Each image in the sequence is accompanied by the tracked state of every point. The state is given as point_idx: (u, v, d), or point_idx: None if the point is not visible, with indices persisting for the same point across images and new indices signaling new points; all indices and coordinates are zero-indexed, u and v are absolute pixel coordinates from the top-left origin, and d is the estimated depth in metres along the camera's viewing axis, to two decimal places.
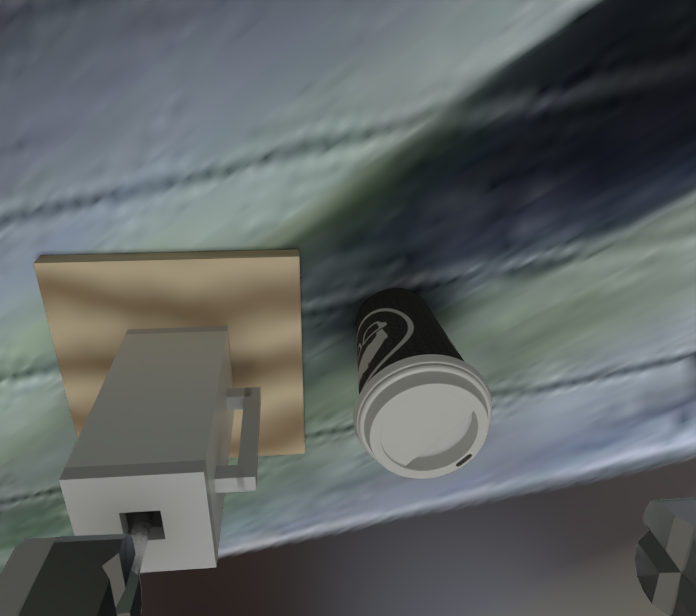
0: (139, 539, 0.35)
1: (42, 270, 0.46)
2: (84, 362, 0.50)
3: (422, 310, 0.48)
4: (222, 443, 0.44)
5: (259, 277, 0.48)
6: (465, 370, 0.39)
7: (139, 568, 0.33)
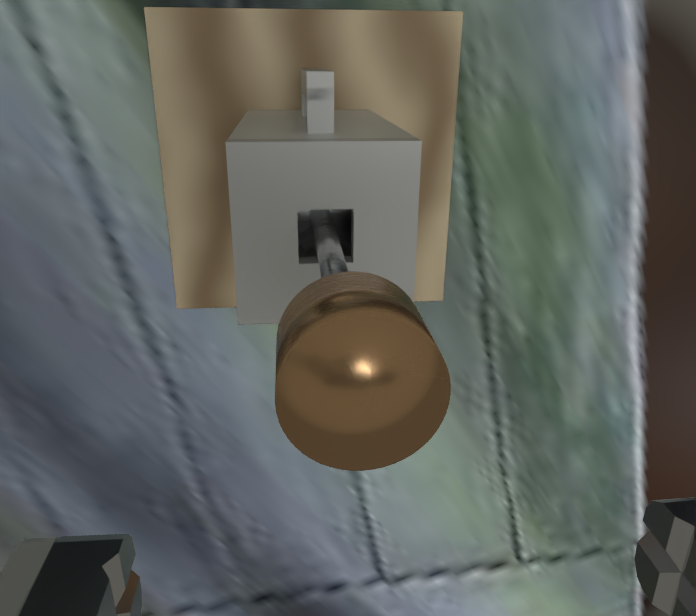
0: (316, 242, 0.25)
1: (184, 301, 0.45)
2: None
3: None
4: None
5: (177, 63, 0.38)
6: None
7: (328, 246, 0.23)
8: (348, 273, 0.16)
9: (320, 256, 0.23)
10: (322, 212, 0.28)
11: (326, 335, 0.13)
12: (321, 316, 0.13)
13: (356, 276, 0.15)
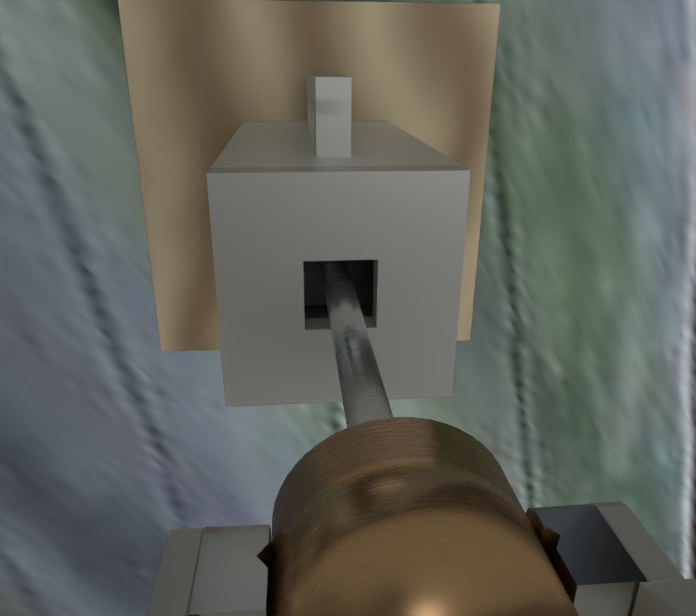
0: (328, 307, 0.18)
1: (170, 343, 0.38)
2: None
3: None
4: None
5: (158, 65, 0.32)
6: None
7: (346, 319, 0.17)
8: (393, 423, 0.09)
9: (335, 334, 0.16)
10: None
11: (366, 600, 0.07)
12: (354, 548, 0.07)
13: (407, 432, 0.09)
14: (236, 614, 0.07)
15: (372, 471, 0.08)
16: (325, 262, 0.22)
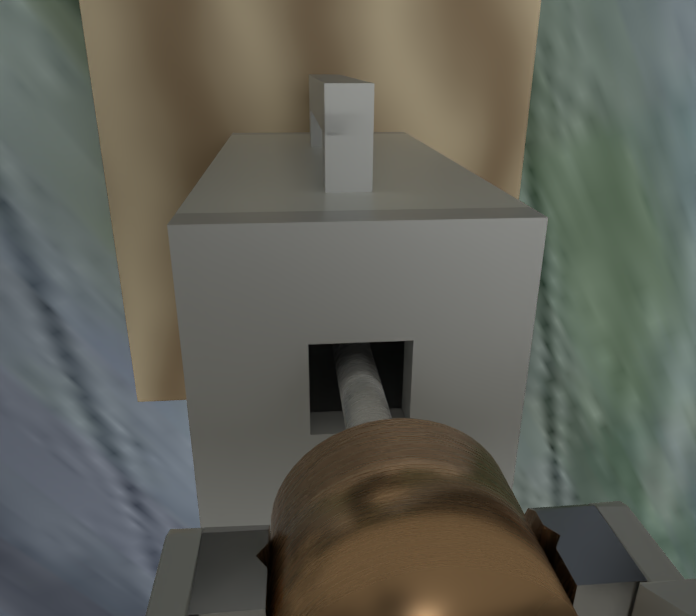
0: None
1: (148, 392, 0.33)
2: None
3: None
4: None
5: (129, 66, 0.26)
6: None
7: None
8: (391, 424, 0.09)
9: None
10: None
11: (365, 602, 0.07)
12: (353, 549, 0.07)
13: (406, 432, 0.09)
14: (235, 614, 0.07)
15: (371, 472, 0.08)
16: None
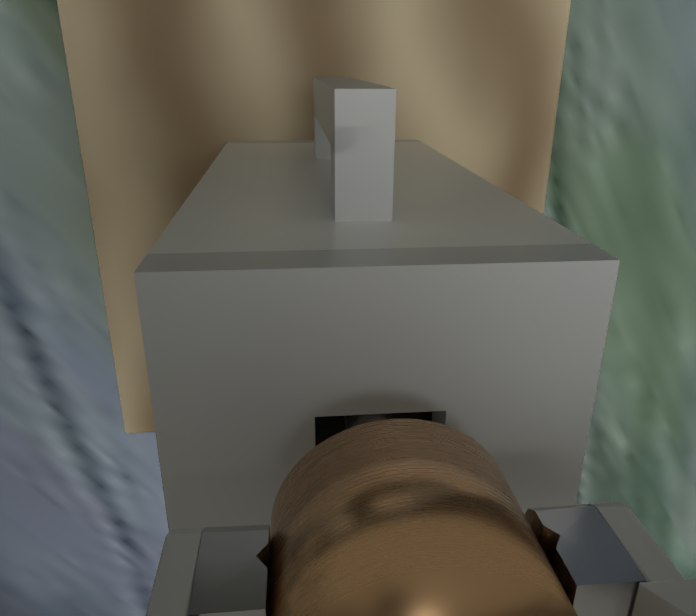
0: None
1: (136, 423, 0.30)
2: None
3: None
4: None
5: (112, 67, 0.24)
6: None
7: None
8: (392, 424, 0.09)
9: None
10: None
11: (365, 603, 0.07)
12: (353, 550, 0.07)
13: (406, 433, 0.09)
14: (236, 614, 0.07)
15: (371, 473, 0.08)
16: None
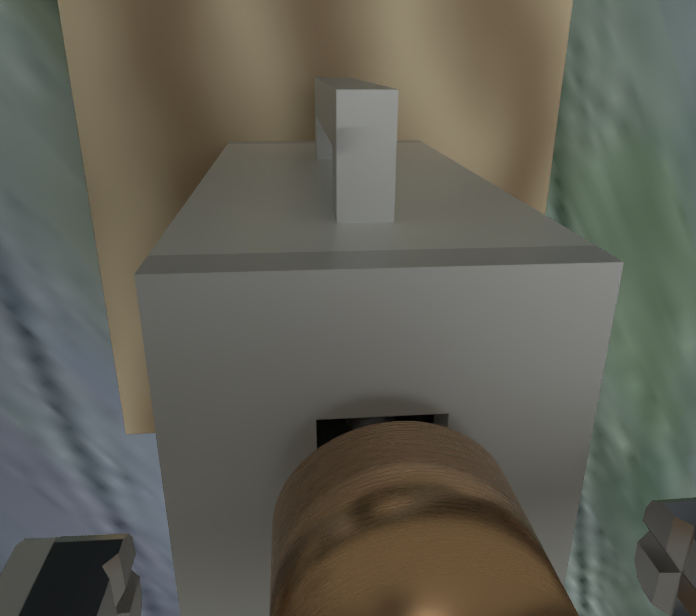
0: None
1: (137, 424, 0.30)
2: None
3: None
4: None
5: (113, 68, 0.24)
6: None
7: None
8: (394, 427, 0.09)
9: None
10: None
11: (367, 608, 0.07)
12: (355, 554, 0.07)
13: (409, 436, 0.09)
14: None
15: (373, 476, 0.08)
16: None
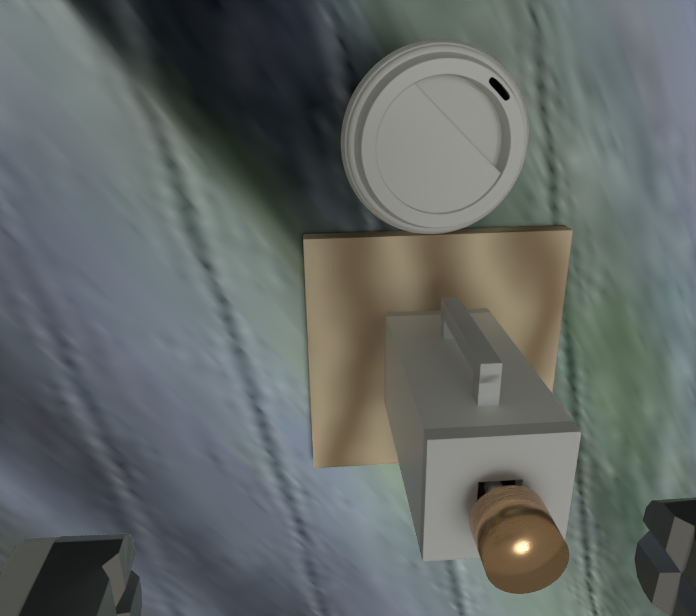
0: None
1: (320, 462, 0.51)
2: None
3: None
4: None
5: (328, 280, 0.45)
6: (359, 94, 0.29)
7: None
8: (509, 487, 0.30)
9: None
10: None
11: (512, 536, 0.28)
12: (507, 523, 0.28)
13: (514, 490, 0.30)
14: None
15: (507, 503, 0.29)
16: None
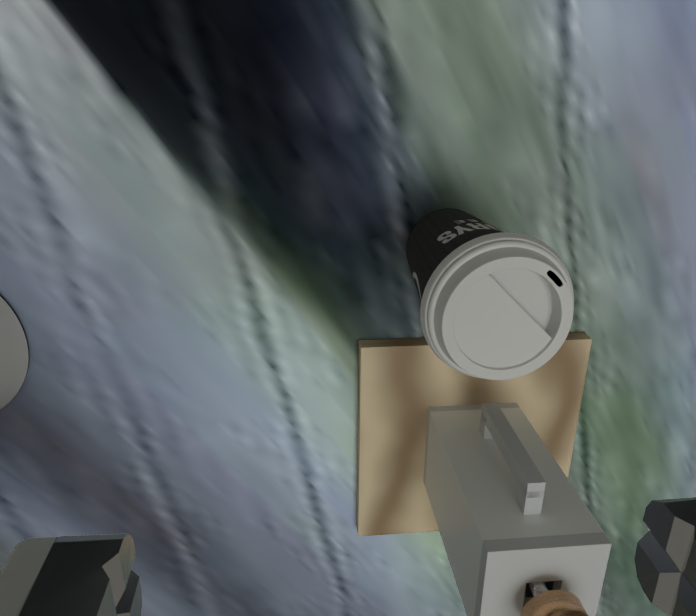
0: None
1: (364, 531, 0.58)
2: None
3: (417, 244, 0.45)
4: None
5: (380, 380, 0.52)
6: (440, 276, 0.35)
7: None
8: (554, 591, 0.37)
9: None
10: None
11: None
12: None
13: (559, 595, 0.37)
14: None
15: (554, 607, 0.36)
16: None
